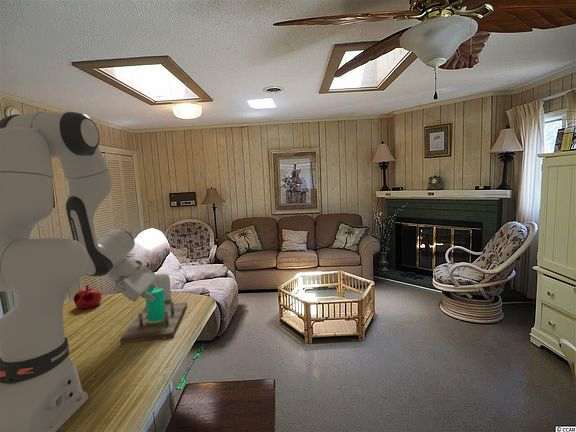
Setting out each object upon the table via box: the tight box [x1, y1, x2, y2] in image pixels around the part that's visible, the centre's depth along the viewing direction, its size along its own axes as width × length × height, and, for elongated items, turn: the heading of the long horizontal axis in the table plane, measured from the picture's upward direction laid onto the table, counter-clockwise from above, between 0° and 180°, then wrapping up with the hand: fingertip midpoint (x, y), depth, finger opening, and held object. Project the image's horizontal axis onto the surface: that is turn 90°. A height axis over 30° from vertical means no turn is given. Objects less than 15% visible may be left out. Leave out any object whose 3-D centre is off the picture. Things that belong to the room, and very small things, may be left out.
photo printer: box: [145, 273, 172, 305], centre depth 128 cm, size 10×4×12 cm, turn 123°
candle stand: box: [119, 301, 188, 344], centre depth 109 cm, size 26×16×6 cm, turn 9°
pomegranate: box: [72, 284, 102, 310], centre depth 128 cm, size 10×10×9 cm
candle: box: [145, 288, 166, 322], centre depth 108 cm, size 6×6×12 cm
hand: (157, 296), depth 108 cm, fingers closed on candle, 5 cm apart
